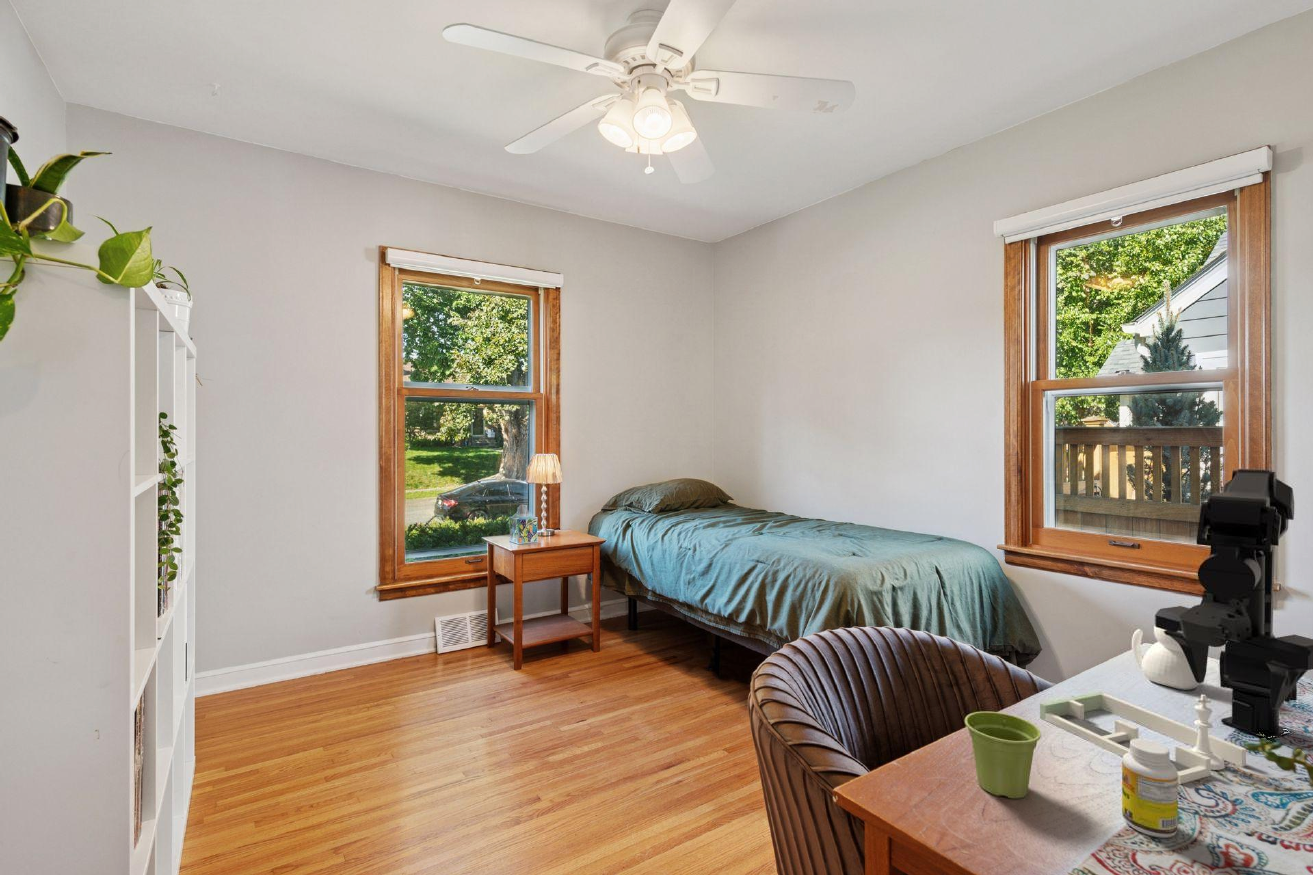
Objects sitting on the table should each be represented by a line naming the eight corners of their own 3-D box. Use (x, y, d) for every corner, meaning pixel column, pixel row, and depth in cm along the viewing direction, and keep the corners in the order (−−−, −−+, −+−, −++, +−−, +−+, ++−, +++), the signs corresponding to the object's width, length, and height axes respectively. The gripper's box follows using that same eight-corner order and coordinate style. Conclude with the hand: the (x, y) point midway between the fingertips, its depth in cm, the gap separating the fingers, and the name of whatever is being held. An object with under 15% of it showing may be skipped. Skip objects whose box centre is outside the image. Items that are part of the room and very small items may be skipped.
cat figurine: (1193, 698, 119) (1195, 618, 118) (1118, 674, 130) (1120, 601, 129) (1216, 689, 123) (1218, 611, 123) (1141, 666, 134) (1143, 595, 134)
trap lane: (1099, 705, 116) (1100, 691, 116) (1246, 765, 95) (1246, 748, 95) (1040, 717, 111) (1040, 703, 111) (1180, 784, 90) (1180, 766, 90)
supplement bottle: (1123, 807, 85) (1124, 730, 85) (1177, 824, 81) (1178, 744, 81) (1119, 827, 81) (1120, 746, 81) (1176, 846, 77) (1177, 761, 77)
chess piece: (1233, 771, 94) (1233, 703, 94) (1194, 768, 95) (1194, 700, 95) (1211, 754, 99) (1211, 689, 98) (1174, 751, 100) (1175, 687, 99)
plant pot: (949, 777, 92) (949, 717, 92) (996, 763, 96) (996, 706, 96) (1008, 813, 84) (1008, 747, 84) (1056, 796, 88) (1057, 733, 87)
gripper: (1128, 575, 97) (1128, 677, 98) (1279, 609, 80) (1278, 734, 80) (1181, 569, 101) (1180, 668, 101) (1337, 600, 83) (1335, 720, 83)
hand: (1235, 694), depth 91 cm, fingers open, 9 cm apart
